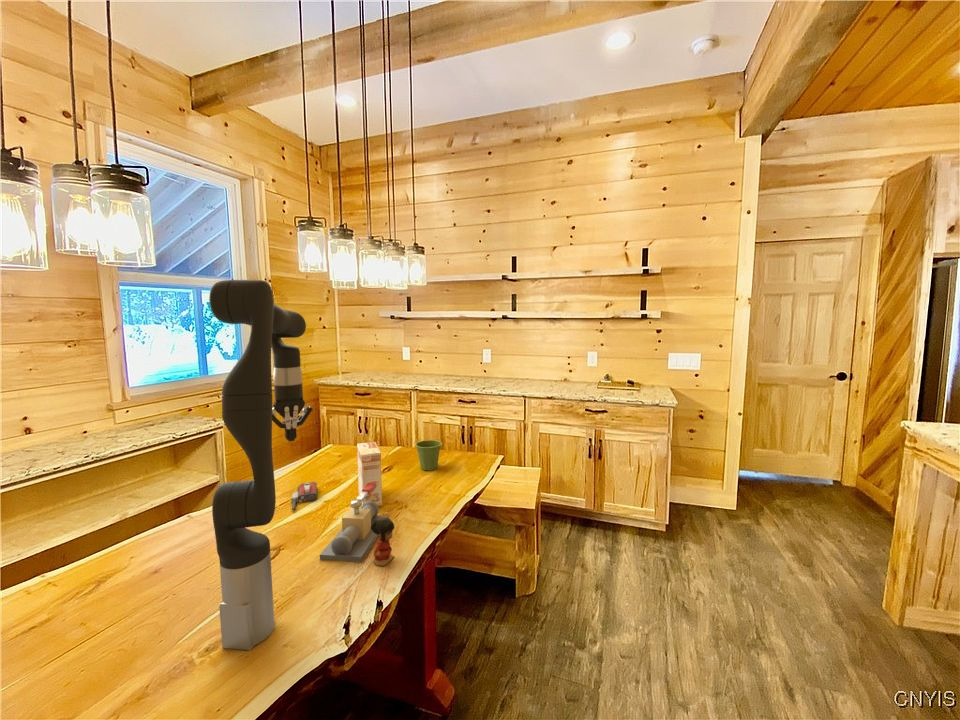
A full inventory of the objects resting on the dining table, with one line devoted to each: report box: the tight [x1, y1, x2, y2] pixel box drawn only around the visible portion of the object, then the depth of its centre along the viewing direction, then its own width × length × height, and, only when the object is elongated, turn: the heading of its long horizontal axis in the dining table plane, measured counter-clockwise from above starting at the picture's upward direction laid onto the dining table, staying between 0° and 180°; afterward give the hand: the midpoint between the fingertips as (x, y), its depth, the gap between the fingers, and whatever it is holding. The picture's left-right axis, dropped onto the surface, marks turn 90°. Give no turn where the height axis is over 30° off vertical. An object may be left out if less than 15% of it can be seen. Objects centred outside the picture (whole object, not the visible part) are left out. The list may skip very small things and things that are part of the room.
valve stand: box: [319, 501, 390, 563], centre depth 126 cm, size 24×12×10 cm, turn 175°
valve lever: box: [350, 482, 376, 508], centre depth 131 cm, size 16×3×2 cm, turn 175°
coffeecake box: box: [356, 441, 383, 507], centre depth 153 cm, size 15×7×20 cm, turn 22°
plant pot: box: [414, 439, 443, 471], centre depth 184 cm, size 12×12×11 cm
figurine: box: [371, 517, 395, 567], centre depth 114 cm, size 6×6×12 cm
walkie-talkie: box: [290, 481, 318, 511], centre depth 153 cm, size 9×4×20 cm
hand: (291, 440), depth 122 cm, fingers closed
